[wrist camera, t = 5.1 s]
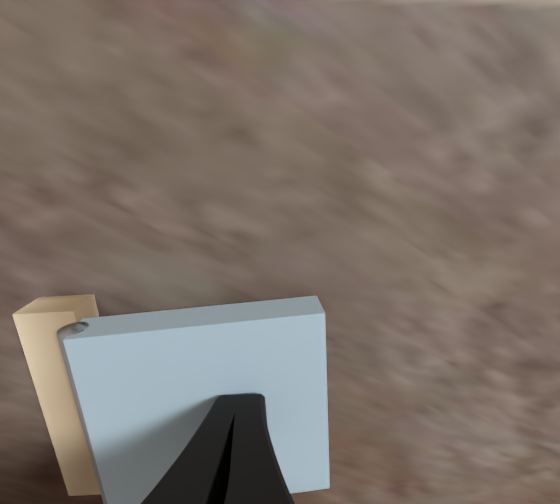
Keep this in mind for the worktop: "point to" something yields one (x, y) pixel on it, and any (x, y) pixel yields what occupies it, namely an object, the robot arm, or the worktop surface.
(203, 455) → the robot arm
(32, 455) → the worktop surface
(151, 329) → the panel
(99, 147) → the worktop surface
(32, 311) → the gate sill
